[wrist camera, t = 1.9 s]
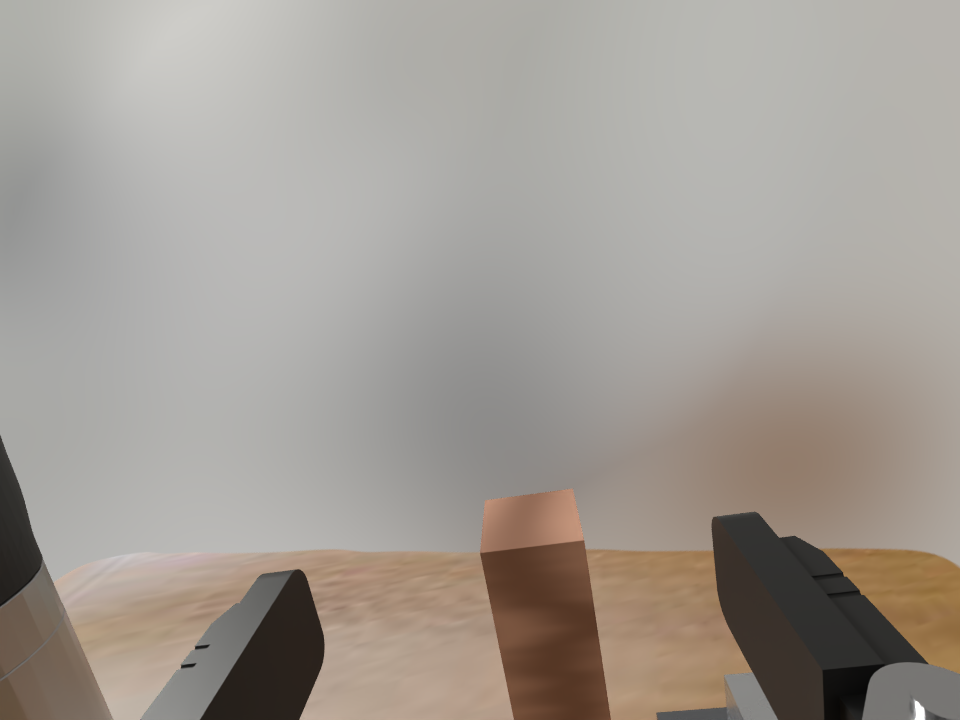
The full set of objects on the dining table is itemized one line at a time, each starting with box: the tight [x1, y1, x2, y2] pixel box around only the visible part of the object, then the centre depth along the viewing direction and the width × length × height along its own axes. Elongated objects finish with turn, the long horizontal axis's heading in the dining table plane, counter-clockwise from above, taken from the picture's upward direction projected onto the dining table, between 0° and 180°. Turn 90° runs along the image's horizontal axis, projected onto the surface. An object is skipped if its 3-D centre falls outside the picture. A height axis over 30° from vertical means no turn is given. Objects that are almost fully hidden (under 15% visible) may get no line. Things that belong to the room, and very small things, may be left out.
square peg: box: [480, 489, 611, 720], centre depth 25 cm, size 4×4×18 cm
